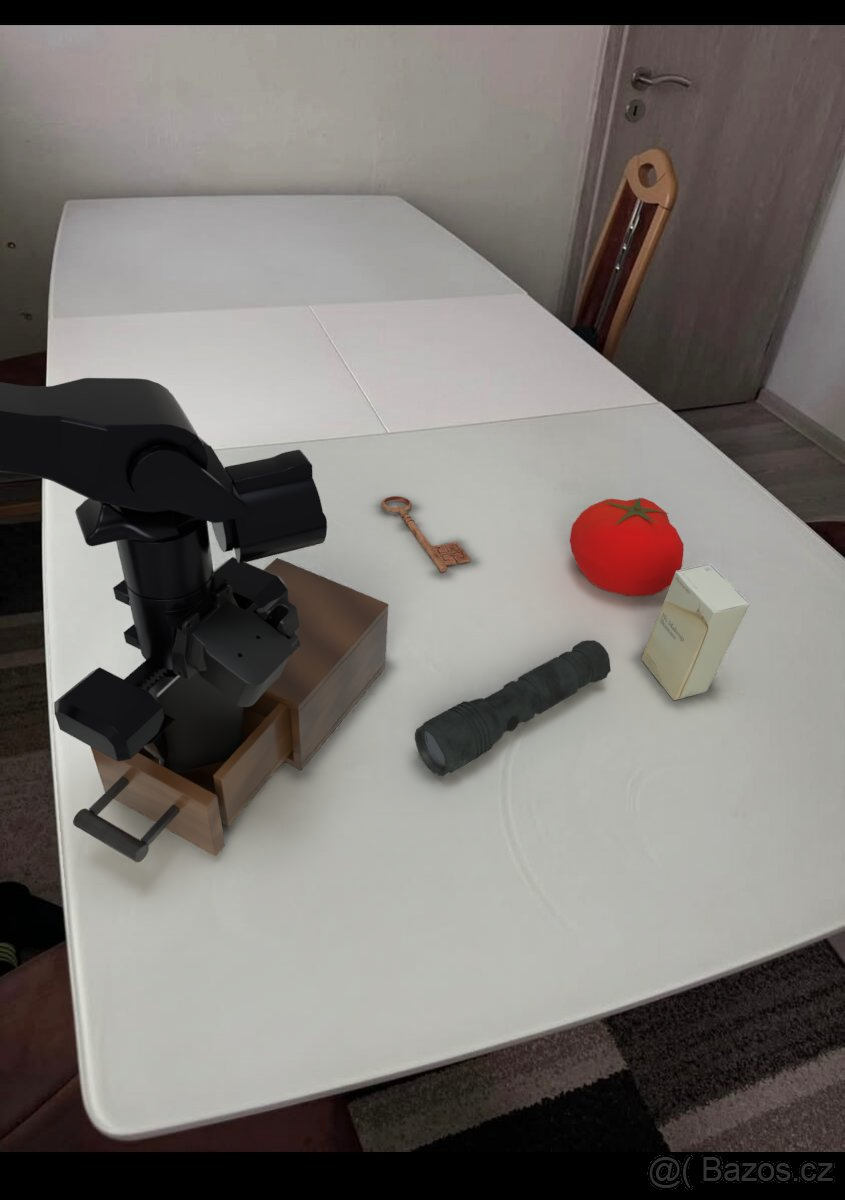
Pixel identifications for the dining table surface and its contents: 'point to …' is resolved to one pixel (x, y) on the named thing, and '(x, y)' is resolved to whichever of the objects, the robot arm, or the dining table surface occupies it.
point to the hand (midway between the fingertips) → (195, 723)
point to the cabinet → (327, 655)
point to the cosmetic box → (694, 630)
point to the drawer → (191, 786)
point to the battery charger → (199, 724)
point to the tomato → (627, 546)
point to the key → (430, 549)
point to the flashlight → (507, 708)
